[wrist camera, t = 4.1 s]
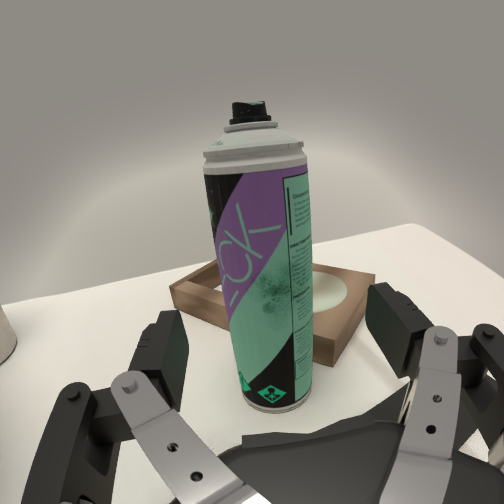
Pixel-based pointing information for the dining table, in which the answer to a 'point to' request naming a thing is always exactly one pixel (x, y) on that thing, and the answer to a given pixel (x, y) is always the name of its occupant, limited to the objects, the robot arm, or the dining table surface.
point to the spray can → (264, 255)
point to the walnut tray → (324, 304)
